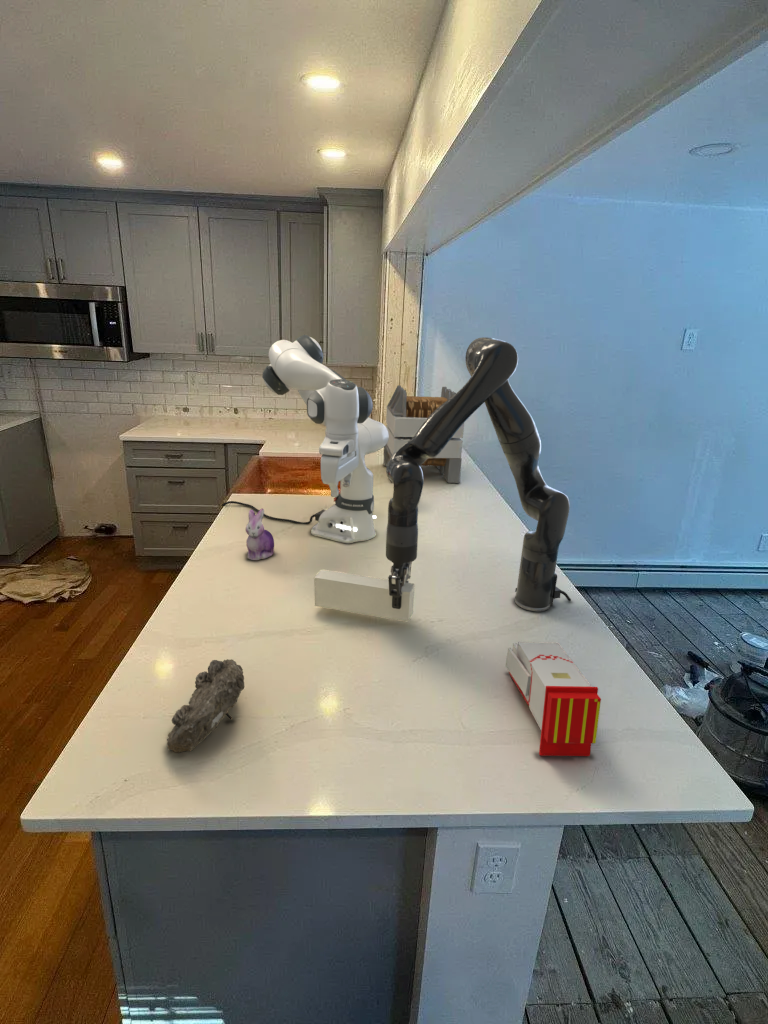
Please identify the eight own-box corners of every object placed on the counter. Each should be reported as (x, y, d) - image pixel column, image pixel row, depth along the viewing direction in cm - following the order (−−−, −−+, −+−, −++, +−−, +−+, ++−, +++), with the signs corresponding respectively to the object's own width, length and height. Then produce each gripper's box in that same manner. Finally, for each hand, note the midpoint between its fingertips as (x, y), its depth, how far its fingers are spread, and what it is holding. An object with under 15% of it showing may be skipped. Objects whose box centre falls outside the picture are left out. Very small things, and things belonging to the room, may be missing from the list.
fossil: (192, 660, 117) (244, 628, 112) (224, 691, 120) (276, 661, 115) (142, 746, 98) (202, 712, 93) (182, 779, 101) (242, 748, 96)
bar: (314, 606, 145) (314, 577, 142) (321, 597, 149) (321, 569, 147) (408, 622, 139) (409, 592, 136) (413, 612, 143) (414, 583, 140)
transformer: (382, 463, 289) (386, 382, 275) (445, 464, 293) (451, 384, 279) (390, 482, 257) (394, 392, 243) (460, 483, 261) (468, 394, 247)
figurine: (249, 563, 172) (248, 517, 167) (241, 550, 180) (239, 506, 175) (280, 558, 176) (279, 513, 171) (270, 546, 184) (269, 502, 179)
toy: (554, 624, 127) (610, 694, 97) (548, 679, 130) (602, 763, 100) (500, 623, 126) (541, 693, 97) (496, 678, 129) (534, 763, 100)
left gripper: (343, 433, 162) (343, 480, 167) (316, 449, 143) (316, 500, 148) (364, 435, 160) (363, 482, 165) (339, 451, 142) (338, 504, 147)
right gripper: (410, 553, 127) (407, 619, 133) (423, 530, 140) (420, 591, 146) (378, 548, 129) (376, 614, 135) (394, 527, 142) (392, 587, 148)
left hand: (340, 491), depth 156 cm, fingers open, 8 cm apart
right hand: (399, 602), depth 141 cm, fingers closed on bar, 5 cm apart
